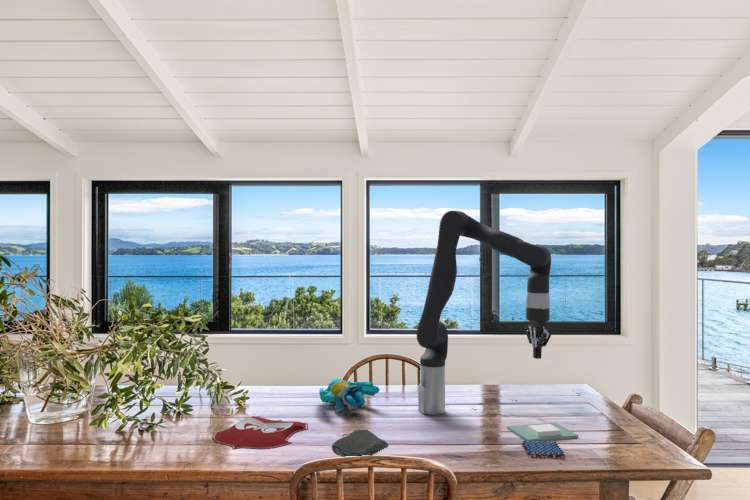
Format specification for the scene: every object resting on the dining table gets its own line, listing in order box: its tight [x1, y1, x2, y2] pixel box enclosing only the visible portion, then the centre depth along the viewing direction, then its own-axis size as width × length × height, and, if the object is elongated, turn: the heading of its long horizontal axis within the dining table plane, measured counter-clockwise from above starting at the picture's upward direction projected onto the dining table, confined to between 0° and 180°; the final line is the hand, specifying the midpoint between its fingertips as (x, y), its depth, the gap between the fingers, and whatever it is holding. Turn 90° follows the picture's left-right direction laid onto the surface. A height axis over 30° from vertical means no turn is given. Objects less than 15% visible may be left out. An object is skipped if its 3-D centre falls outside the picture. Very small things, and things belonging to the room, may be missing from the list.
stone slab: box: [331, 429, 389, 457], centre depth 155 cm, size 24×17×2 cm
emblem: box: [212, 415, 309, 450], centre depth 165 cm, size 29×3×30 cm
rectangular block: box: [528, 424, 561, 437], centre depth 164 cm, size 6×2×8 cm
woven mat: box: [521, 440, 566, 460], centre depth 151 cm, size 10×11×2 cm
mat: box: [506, 421, 579, 442], centre depth 167 cm, size 18×13×1 cm
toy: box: [319, 378, 381, 413], centre depth 193 cm, size 22×12×25 cm
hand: (537, 358), depth 170 cm, fingers closed
